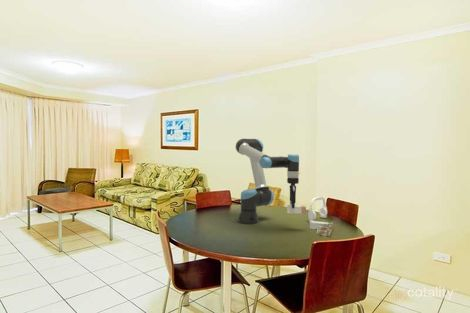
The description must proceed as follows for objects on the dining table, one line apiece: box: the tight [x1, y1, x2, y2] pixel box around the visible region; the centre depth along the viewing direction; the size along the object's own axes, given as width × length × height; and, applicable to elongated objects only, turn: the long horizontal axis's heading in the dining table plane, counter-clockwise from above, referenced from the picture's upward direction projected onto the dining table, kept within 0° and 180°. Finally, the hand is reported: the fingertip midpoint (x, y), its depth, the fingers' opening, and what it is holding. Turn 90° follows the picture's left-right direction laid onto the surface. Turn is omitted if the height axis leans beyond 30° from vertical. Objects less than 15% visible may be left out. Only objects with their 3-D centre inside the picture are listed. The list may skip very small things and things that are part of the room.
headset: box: [307, 196, 328, 223], centre depth 221 cm, size 20×7×18 cm, turn 131°
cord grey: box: [309, 220, 330, 231], centre depth 197 cm, size 12×4×4 cm, turn 65°
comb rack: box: [316, 221, 334, 238], centre depth 191 cm, size 8×21×5 cm, turn 155°
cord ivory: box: [286, 204, 307, 214], centre depth 195 cm, size 12×4×4 cm, turn 85°
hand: (292, 211), depth 195 cm, fingers closed on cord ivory, 4 cm apart
